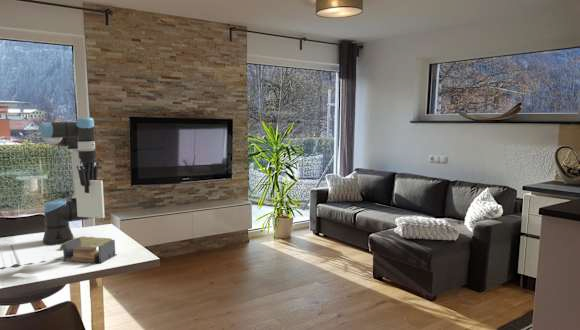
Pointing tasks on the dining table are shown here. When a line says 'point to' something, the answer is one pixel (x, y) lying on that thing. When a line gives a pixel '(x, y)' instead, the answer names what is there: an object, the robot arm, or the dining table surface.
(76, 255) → the offcut middle
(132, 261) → the dining table surface
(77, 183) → the sheet
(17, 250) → the dining table surface
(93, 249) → the offcut top
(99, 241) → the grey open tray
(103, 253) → the rack
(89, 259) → the offcut bottom
